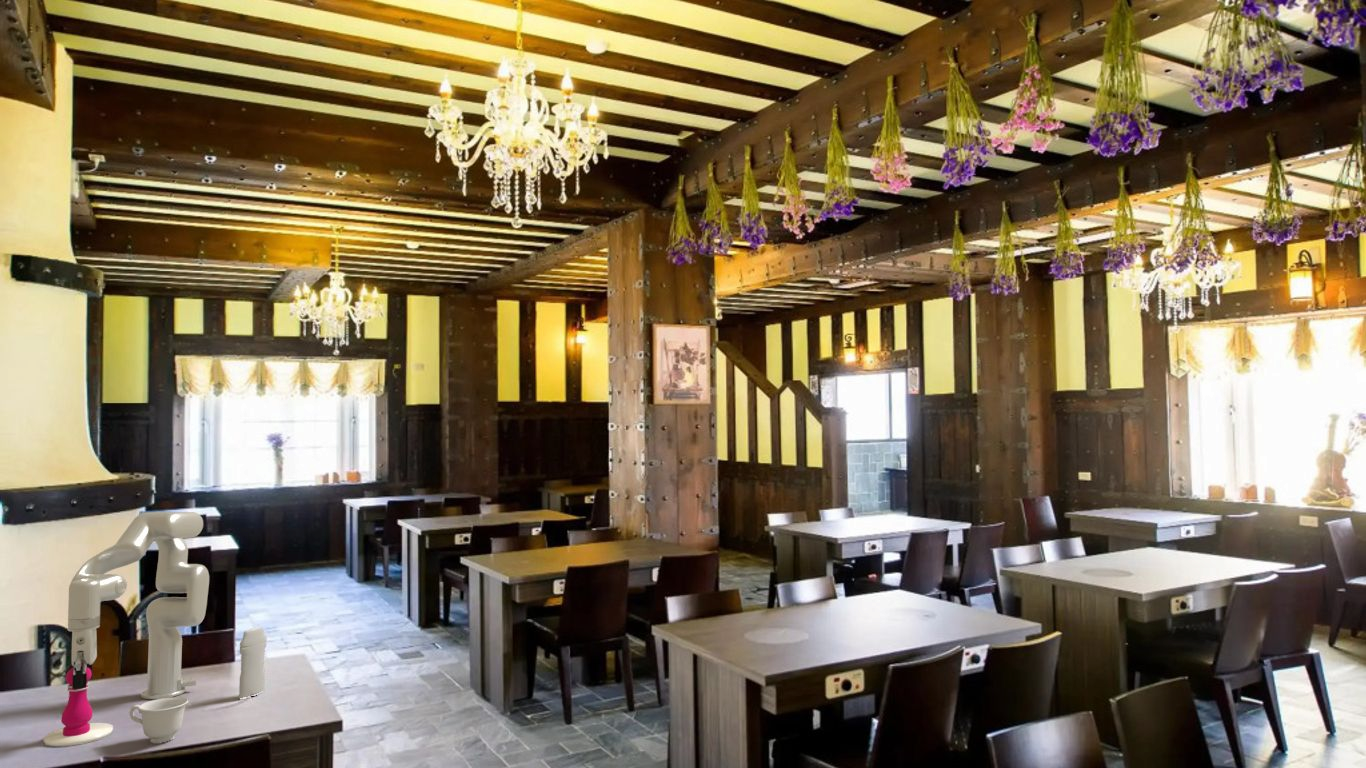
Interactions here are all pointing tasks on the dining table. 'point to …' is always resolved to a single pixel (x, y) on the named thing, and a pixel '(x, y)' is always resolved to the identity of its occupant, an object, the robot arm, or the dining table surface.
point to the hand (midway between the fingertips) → (82, 683)
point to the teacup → (161, 717)
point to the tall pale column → (252, 662)
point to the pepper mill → (76, 708)
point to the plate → (94, 734)
